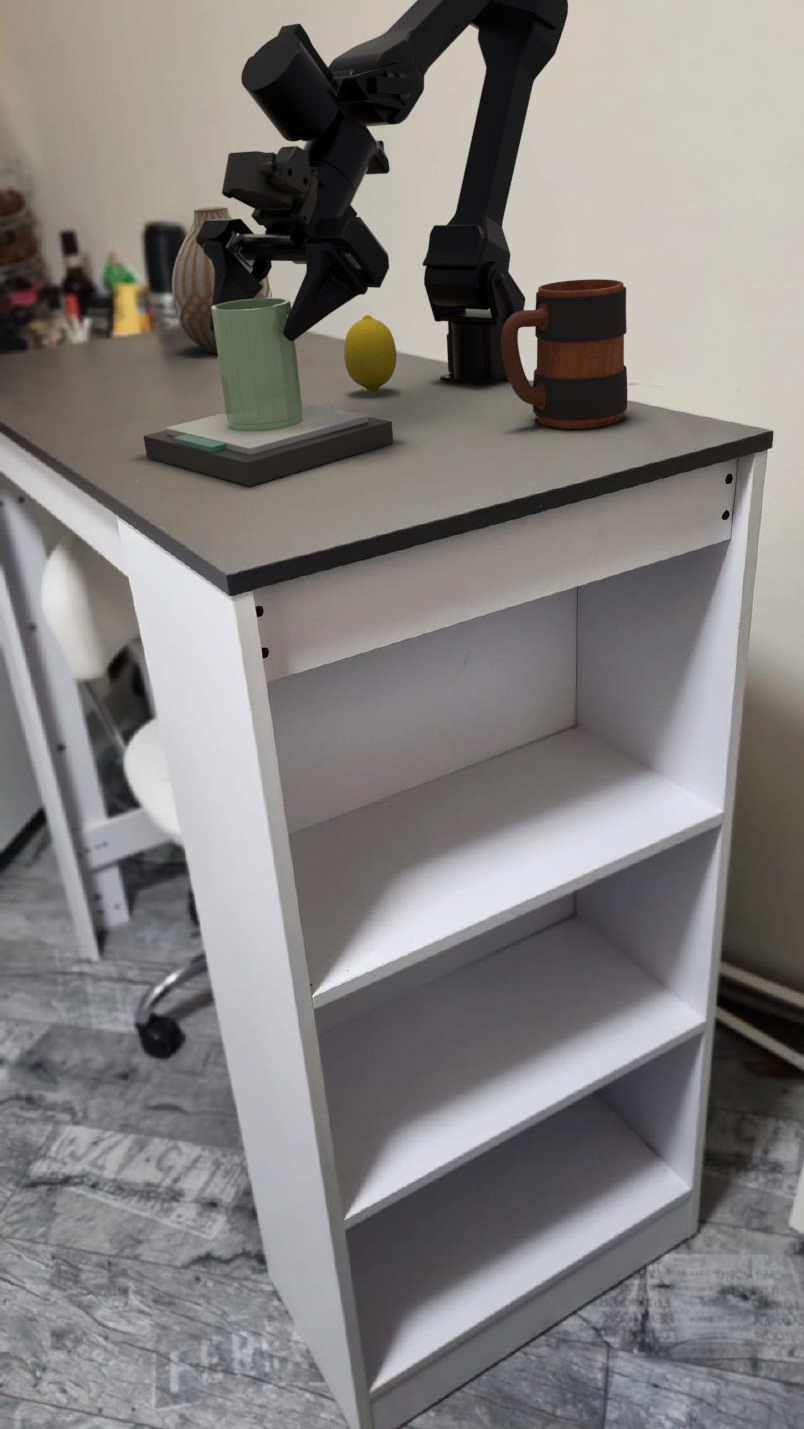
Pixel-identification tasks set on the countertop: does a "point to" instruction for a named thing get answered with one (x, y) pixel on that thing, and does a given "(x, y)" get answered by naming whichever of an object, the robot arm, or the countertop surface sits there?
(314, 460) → the scale
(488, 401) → the countertop surface
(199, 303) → the vase
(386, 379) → the lemon
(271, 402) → the cup
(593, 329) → the mug
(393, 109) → the robot arm
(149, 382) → the countertop surface
